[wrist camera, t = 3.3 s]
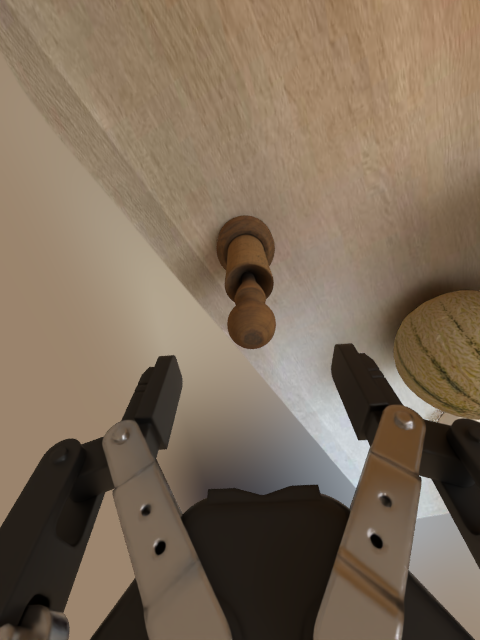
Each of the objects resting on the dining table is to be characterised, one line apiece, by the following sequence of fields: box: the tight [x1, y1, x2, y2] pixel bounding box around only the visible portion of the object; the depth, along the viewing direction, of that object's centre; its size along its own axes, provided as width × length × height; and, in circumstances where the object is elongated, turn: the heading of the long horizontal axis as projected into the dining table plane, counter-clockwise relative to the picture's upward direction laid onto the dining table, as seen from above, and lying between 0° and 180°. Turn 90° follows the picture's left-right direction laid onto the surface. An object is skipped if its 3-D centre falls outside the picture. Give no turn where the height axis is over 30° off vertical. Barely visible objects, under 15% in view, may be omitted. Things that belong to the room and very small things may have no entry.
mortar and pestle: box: [217, 216, 276, 349], centre depth 22 cm, size 7×6×18 cm
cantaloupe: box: [393, 290, 480, 420], centre depth 29 cm, size 15×15×15 cm
